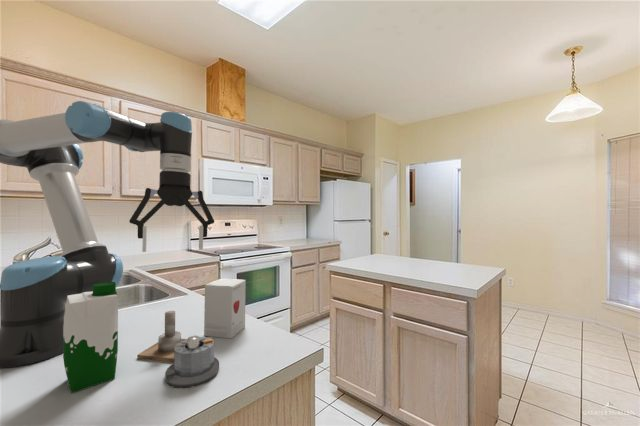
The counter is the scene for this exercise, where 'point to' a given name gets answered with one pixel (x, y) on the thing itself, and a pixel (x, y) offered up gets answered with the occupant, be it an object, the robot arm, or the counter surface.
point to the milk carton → (91, 336)
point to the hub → (191, 381)
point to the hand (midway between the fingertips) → (173, 250)
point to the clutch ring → (193, 358)
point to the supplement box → (224, 307)
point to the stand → (164, 342)
